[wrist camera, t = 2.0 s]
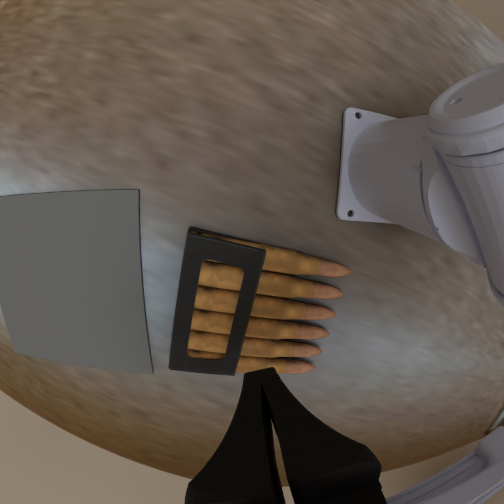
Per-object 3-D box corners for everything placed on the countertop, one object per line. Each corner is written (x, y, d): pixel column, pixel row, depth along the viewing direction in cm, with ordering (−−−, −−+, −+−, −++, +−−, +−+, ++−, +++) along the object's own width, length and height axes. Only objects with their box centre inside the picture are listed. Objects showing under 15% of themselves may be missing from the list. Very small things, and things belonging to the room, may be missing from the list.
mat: (139, 189, 19) (138, 189, 19) (153, 371, 23) (152, 373, 23) (-15, 197, 17) (-17, 198, 17) (16, 350, 21) (15, 352, 21)
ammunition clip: (170, 355, 23) (308, 369, 25) (168, 370, 21) (315, 382, 23) (189, 226, 20) (349, 256, 22) (187, 232, 18) (360, 264, 20)
